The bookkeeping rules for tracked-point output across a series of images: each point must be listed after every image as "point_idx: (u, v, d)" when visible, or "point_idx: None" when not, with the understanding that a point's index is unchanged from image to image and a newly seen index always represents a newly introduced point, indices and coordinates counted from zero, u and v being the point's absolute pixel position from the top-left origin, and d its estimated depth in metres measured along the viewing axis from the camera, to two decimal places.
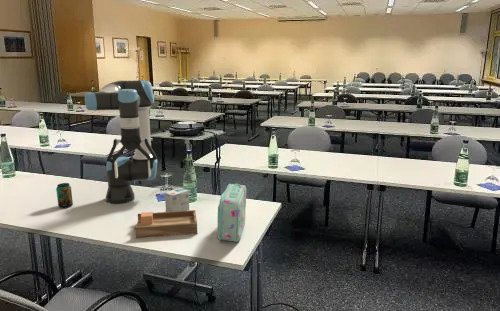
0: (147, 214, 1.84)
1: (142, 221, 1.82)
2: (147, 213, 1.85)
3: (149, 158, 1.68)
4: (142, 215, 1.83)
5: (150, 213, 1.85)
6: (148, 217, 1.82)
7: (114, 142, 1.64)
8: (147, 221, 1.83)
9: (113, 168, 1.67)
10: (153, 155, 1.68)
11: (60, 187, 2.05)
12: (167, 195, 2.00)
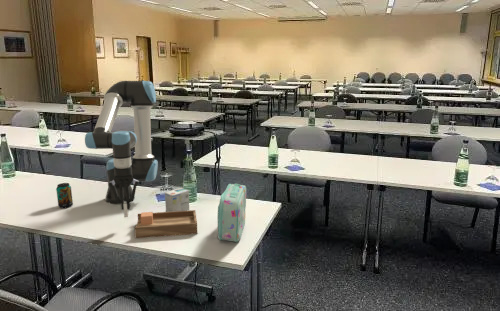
0: (147, 214, 1.84)
1: (142, 221, 1.82)
2: (147, 213, 1.85)
3: (127, 200, 1.80)
4: (142, 215, 1.83)
5: (150, 213, 1.85)
6: (148, 217, 1.82)
7: (110, 185, 1.77)
8: (147, 221, 1.83)
9: (122, 208, 1.81)
10: (132, 197, 1.80)
11: (60, 187, 2.05)
12: (167, 195, 2.00)
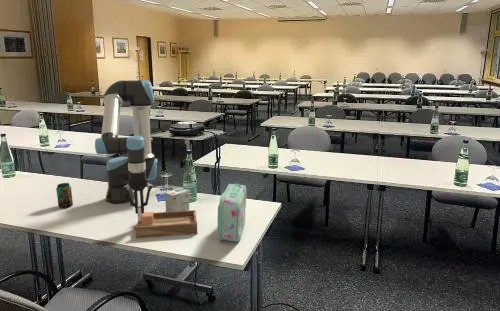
0: (147, 214, 1.84)
1: (142, 221, 1.82)
2: (147, 213, 1.85)
3: (142, 204, 1.82)
4: (142, 215, 1.83)
5: (150, 213, 1.85)
6: (148, 217, 1.82)
7: (125, 189, 1.79)
8: (147, 221, 1.83)
9: (136, 212, 1.83)
10: (146, 201, 1.82)
11: (60, 187, 2.05)
12: (167, 195, 2.00)
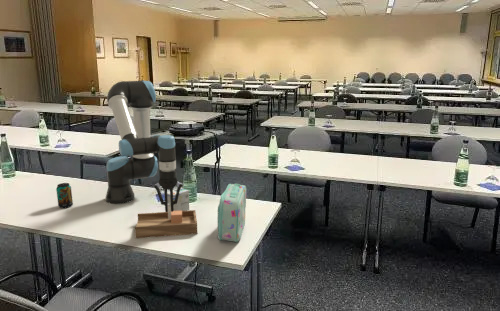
0: (177, 213, 1.86)
1: (172, 219, 1.84)
2: (176, 212, 1.87)
3: (171, 202, 1.84)
4: (172, 213, 1.85)
5: (180, 212, 1.87)
6: (178, 215, 1.84)
7: (155, 187, 1.81)
8: (177, 219, 1.85)
9: (166, 210, 1.85)
10: (176, 199, 1.84)
11: (60, 187, 2.05)
12: (167, 195, 2.00)
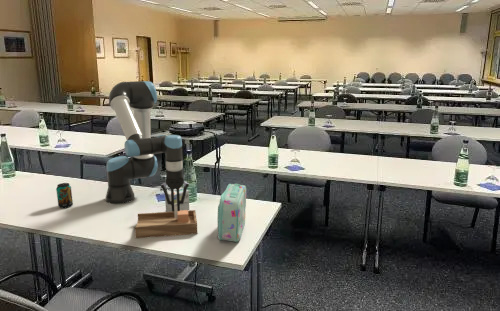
0: (183, 212, 1.87)
1: (179, 219, 1.85)
2: (183, 212, 1.87)
3: (178, 202, 1.85)
4: (178, 213, 1.86)
5: (186, 211, 1.88)
6: (184, 215, 1.85)
7: (162, 187, 1.81)
8: (183, 219, 1.85)
9: (173, 210, 1.86)
10: (182, 199, 1.85)
11: (60, 187, 2.05)
12: None
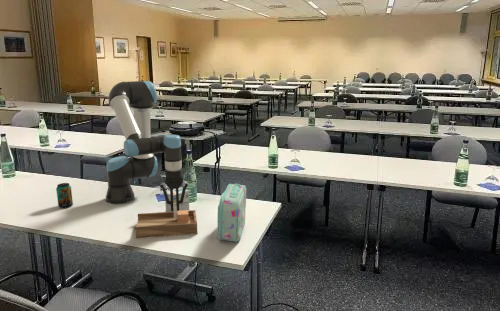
0: (183, 212, 1.87)
1: (179, 219, 1.85)
2: (183, 212, 1.87)
3: (177, 201, 1.85)
4: (178, 213, 1.86)
5: (186, 211, 1.88)
6: (184, 215, 1.85)
7: (161, 187, 1.81)
8: (183, 219, 1.85)
9: (172, 209, 1.86)
10: (182, 199, 1.85)
11: (60, 187, 2.05)
12: None
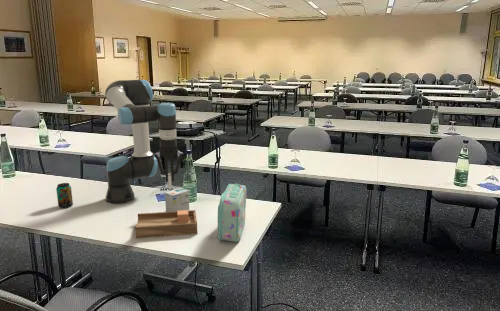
0: (183, 212, 1.87)
1: (179, 219, 1.85)
2: (183, 212, 1.87)
3: (172, 171, 1.81)
4: (178, 213, 1.86)
5: (186, 211, 1.88)
6: (184, 215, 1.85)
7: (156, 156, 1.78)
8: (183, 219, 1.85)
9: (166, 180, 1.82)
10: (177, 169, 1.81)
11: (60, 187, 2.05)
12: (167, 195, 2.00)
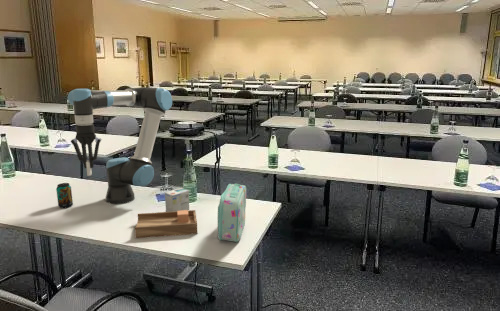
0: (183, 212, 1.87)
1: (179, 219, 1.85)
2: (183, 212, 1.87)
3: (90, 158, 1.80)
4: (178, 213, 1.86)
5: (186, 211, 1.88)
6: (184, 215, 1.85)
7: (72, 142, 1.77)
8: (183, 219, 1.85)
9: (85, 166, 1.81)
10: (95, 155, 1.80)
11: (60, 187, 2.05)
12: (167, 195, 2.00)
